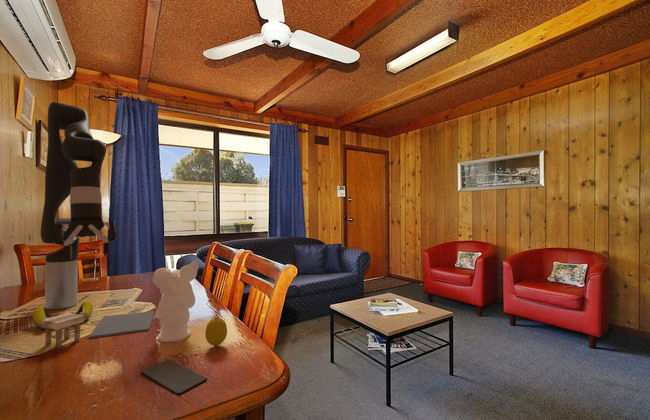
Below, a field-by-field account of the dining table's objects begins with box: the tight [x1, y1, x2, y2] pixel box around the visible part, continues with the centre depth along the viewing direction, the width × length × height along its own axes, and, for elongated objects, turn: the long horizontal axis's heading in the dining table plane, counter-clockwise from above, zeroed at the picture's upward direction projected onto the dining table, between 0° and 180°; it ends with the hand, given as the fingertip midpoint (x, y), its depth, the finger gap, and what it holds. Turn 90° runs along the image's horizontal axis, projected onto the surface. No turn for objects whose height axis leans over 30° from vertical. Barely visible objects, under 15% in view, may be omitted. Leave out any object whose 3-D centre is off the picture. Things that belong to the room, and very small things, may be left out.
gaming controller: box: [32, 300, 94, 330], centre depth 99 cm, size 15×6×10 cm
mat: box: [88, 310, 155, 339], centre depth 98 cm, size 18×15×1 cm
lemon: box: [205, 316, 228, 347], centre depth 83 cm, size 6×6×8 cm
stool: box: [42, 312, 85, 350], centre depth 84 cm, size 6×6×7 cm
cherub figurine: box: [152, 259, 199, 343], centre depth 91 cm, size 12×12×22 cm
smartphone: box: [140, 359, 208, 396], centre depth 67 cm, size 7×1×15 cm
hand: (87, 257), depth 91 cm, fingers open, 8 cm apart
